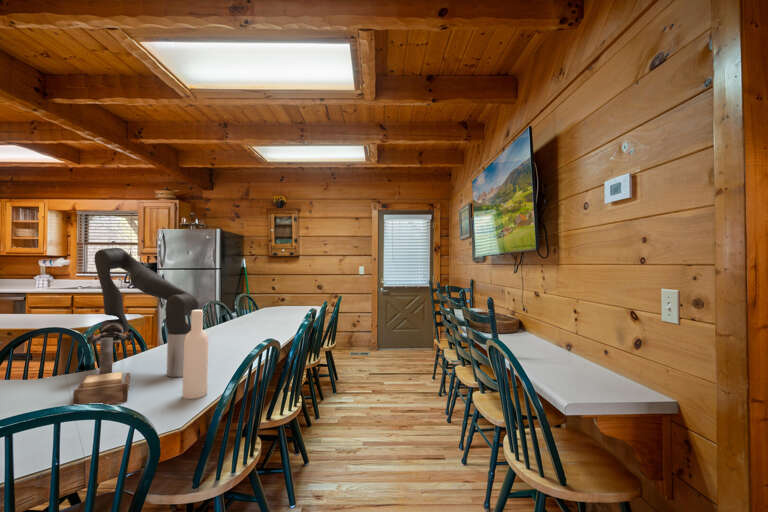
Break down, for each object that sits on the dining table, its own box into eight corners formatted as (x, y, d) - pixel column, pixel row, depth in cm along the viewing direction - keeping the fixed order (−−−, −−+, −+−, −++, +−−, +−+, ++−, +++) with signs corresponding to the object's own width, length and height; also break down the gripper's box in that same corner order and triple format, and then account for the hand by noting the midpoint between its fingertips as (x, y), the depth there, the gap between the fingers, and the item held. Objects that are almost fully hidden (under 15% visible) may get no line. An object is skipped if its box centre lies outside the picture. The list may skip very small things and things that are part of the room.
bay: (129, 384, 143) (130, 368, 143) (127, 401, 126) (127, 383, 126) (82, 390, 135) (83, 373, 135) (73, 409, 118) (73, 390, 119)
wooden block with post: (122, 385, 138) (124, 336, 138) (120, 396, 127) (122, 343, 128) (87, 390, 133) (89, 338, 133) (82, 401, 122) (84, 346, 122)
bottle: (194, 400, 128) (196, 312, 128) (176, 397, 131) (179, 310, 131) (212, 393, 135) (214, 309, 136) (195, 390, 138) (197, 308, 139)
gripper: (91, 325, 154) (85, 333, 140) (132, 323, 161) (131, 330, 147) (90, 344, 154) (84, 353, 140) (132, 341, 161) (130, 349, 147)
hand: (108, 341), depth 144 cm, fingers open, 8 cm apart
